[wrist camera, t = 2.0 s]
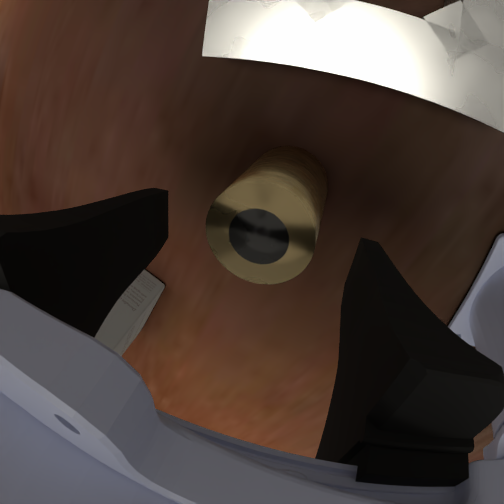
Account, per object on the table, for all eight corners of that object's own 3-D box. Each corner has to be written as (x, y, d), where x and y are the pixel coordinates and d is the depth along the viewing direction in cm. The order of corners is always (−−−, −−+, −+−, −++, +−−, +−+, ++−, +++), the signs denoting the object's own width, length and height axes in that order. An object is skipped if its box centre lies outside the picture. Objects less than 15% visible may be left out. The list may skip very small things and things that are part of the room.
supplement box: (92, 225, 22) (-33, 331, 12) (168, 284, 23) (62, 424, 12) (78, 281, 26) (-13, 376, 16) (141, 331, 27) (61, 442, 16)
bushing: (335, 155, 15) (327, 199, 10) (318, 226, 17) (301, 295, 12) (256, 139, 16) (209, 172, 11) (247, 209, 18) (203, 268, 13)
